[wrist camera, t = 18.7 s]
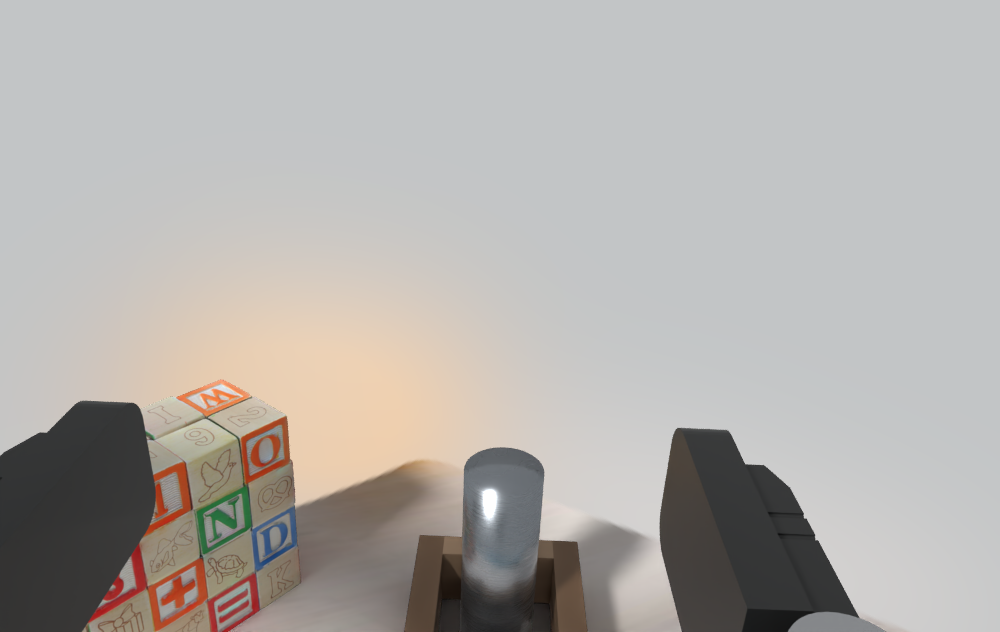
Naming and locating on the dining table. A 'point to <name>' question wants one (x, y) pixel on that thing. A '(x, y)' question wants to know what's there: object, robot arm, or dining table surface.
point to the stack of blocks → (210, 518)
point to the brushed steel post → (500, 540)
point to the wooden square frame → (443, 581)
